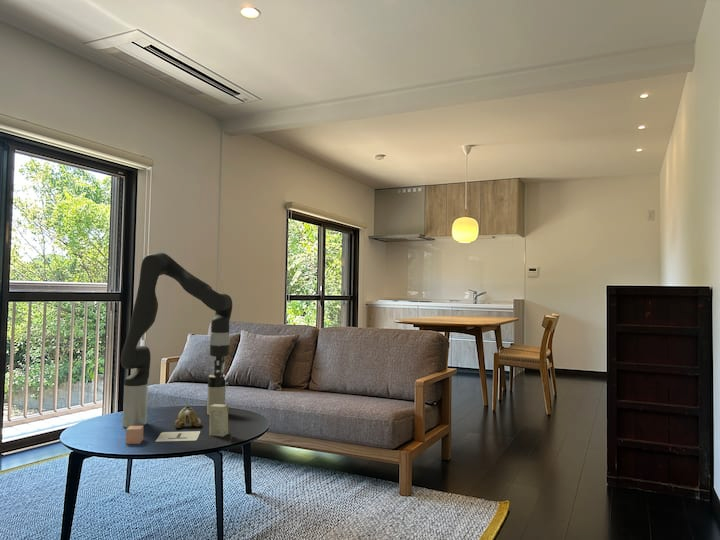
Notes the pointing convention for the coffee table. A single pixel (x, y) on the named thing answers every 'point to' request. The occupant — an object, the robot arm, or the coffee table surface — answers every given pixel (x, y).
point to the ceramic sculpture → (187, 418)
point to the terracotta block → (134, 434)
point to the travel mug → (215, 393)
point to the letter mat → (178, 436)
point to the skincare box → (218, 420)
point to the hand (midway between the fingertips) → (218, 384)
